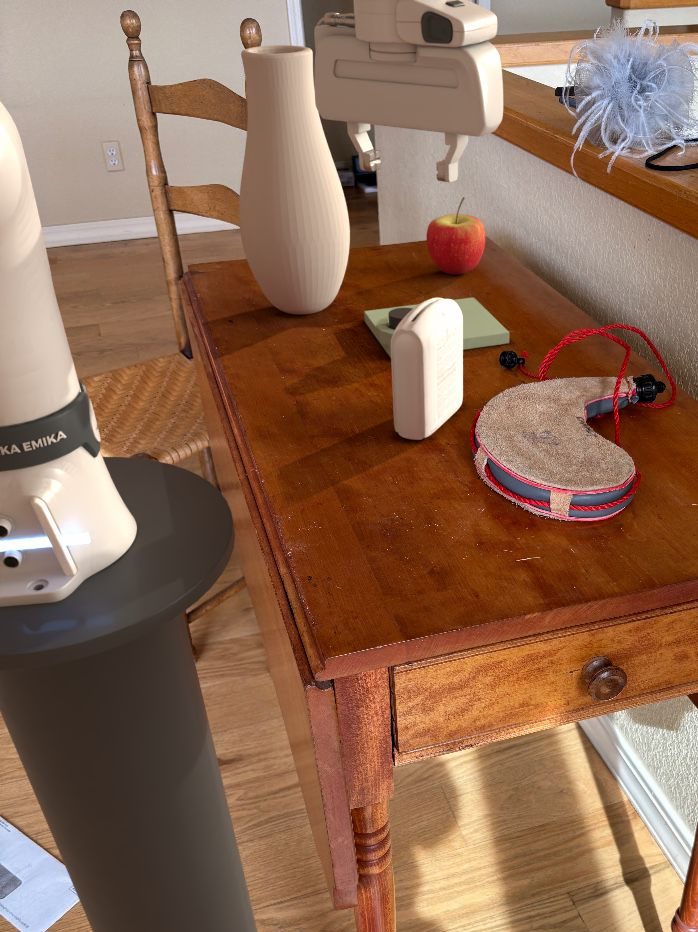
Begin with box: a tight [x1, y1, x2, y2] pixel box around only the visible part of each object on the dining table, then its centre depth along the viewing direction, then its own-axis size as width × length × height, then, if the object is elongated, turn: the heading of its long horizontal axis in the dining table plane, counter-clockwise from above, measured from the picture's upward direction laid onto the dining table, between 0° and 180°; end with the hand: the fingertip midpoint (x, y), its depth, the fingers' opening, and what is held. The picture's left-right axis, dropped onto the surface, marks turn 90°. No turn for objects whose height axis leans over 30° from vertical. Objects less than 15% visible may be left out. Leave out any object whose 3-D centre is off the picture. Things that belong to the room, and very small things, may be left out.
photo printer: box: [390, 297, 464, 441], centre depth 94 cm, size 10×4×12 cm, turn 155°
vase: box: [238, 44, 351, 316], centre depth 115 cm, size 14×14×30 cm
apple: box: [426, 196, 486, 276], centre depth 132 cm, size 8×8×10 cm
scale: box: [363, 297, 510, 359], centre depth 116 cm, size 16×13×3 cm
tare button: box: [389, 308, 412, 330], centre depth 111 cm, size 4×4×2 cm
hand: (408, 175), depth 95 cm, fingers open, 8 cm apart
